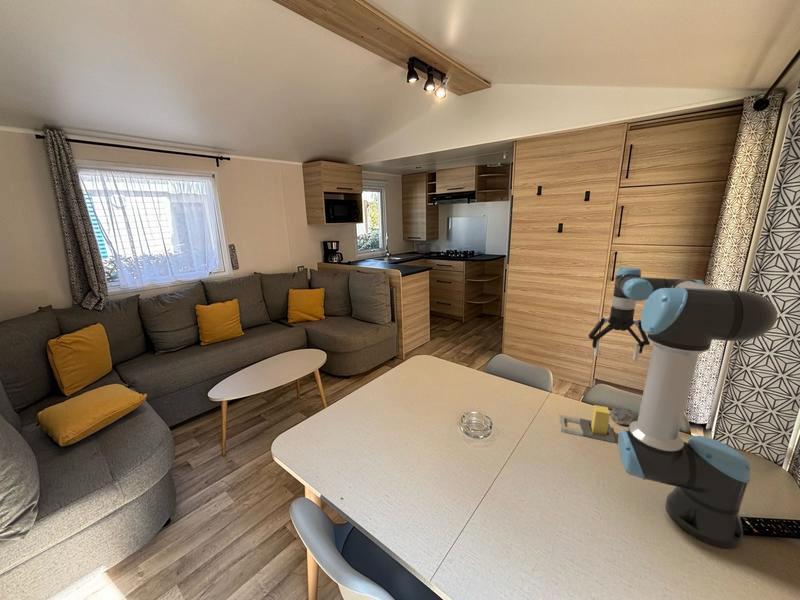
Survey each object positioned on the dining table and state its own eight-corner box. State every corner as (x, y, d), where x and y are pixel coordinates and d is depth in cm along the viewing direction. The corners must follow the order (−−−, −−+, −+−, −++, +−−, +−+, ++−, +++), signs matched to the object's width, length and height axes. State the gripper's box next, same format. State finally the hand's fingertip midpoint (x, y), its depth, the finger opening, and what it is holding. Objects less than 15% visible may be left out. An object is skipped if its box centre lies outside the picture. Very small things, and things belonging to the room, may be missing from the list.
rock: (639, 419, 129) (640, 411, 128) (628, 430, 123) (630, 421, 122) (614, 410, 136) (616, 401, 135) (604, 419, 130) (605, 410, 129)
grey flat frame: (614, 442, 116) (615, 439, 116) (560, 431, 123) (561, 428, 122) (609, 426, 125) (609, 424, 125) (559, 416, 132) (559, 414, 131)
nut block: (606, 436, 119) (610, 413, 117) (592, 433, 121) (596, 411, 118) (603, 429, 123) (607, 407, 121) (590, 427, 125) (594, 404, 123)
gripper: (659, 307, 120) (649, 358, 125) (585, 302, 130) (578, 349, 135) (666, 312, 113) (656, 366, 118) (587, 306, 123) (581, 356, 128)
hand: (614, 357), depth 126 cm, fingers open, 13 cm apart
